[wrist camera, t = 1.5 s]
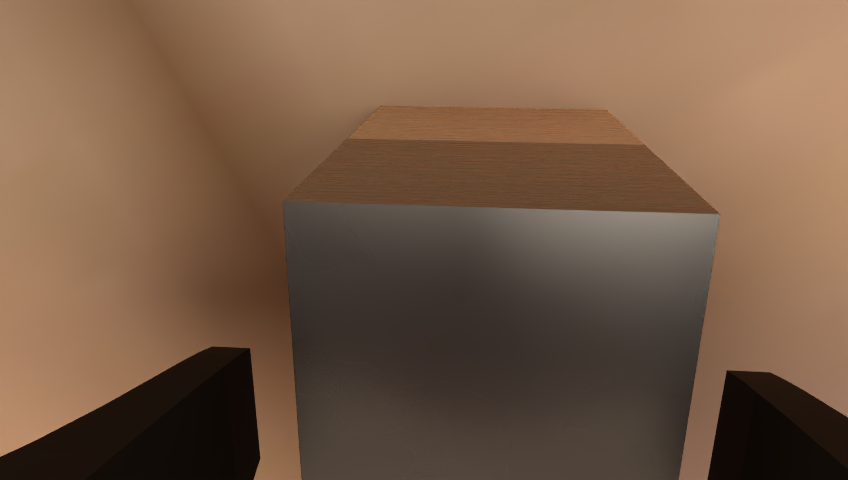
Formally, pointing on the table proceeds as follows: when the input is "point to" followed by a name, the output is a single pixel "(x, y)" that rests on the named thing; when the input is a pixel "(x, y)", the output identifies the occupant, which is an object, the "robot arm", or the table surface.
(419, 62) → the table surface
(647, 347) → the housing
